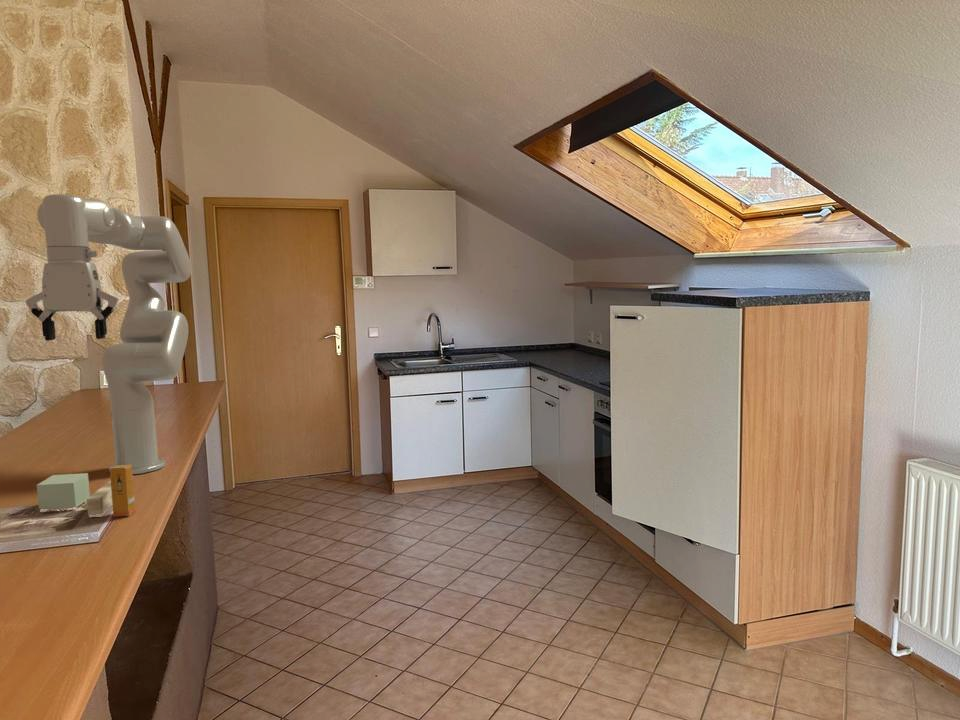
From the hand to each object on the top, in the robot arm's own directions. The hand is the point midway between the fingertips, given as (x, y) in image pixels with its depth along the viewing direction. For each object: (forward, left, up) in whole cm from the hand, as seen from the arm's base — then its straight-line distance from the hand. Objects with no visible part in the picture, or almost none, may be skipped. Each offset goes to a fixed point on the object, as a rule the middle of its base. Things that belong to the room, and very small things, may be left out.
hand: (75, 339), depth 141 cm
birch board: (+2, +5, -35) cm, 35 cm away
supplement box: (+10, +11, -35) cm, 38 cm away
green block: (+2, -4, -35) cm, 35 cm away
